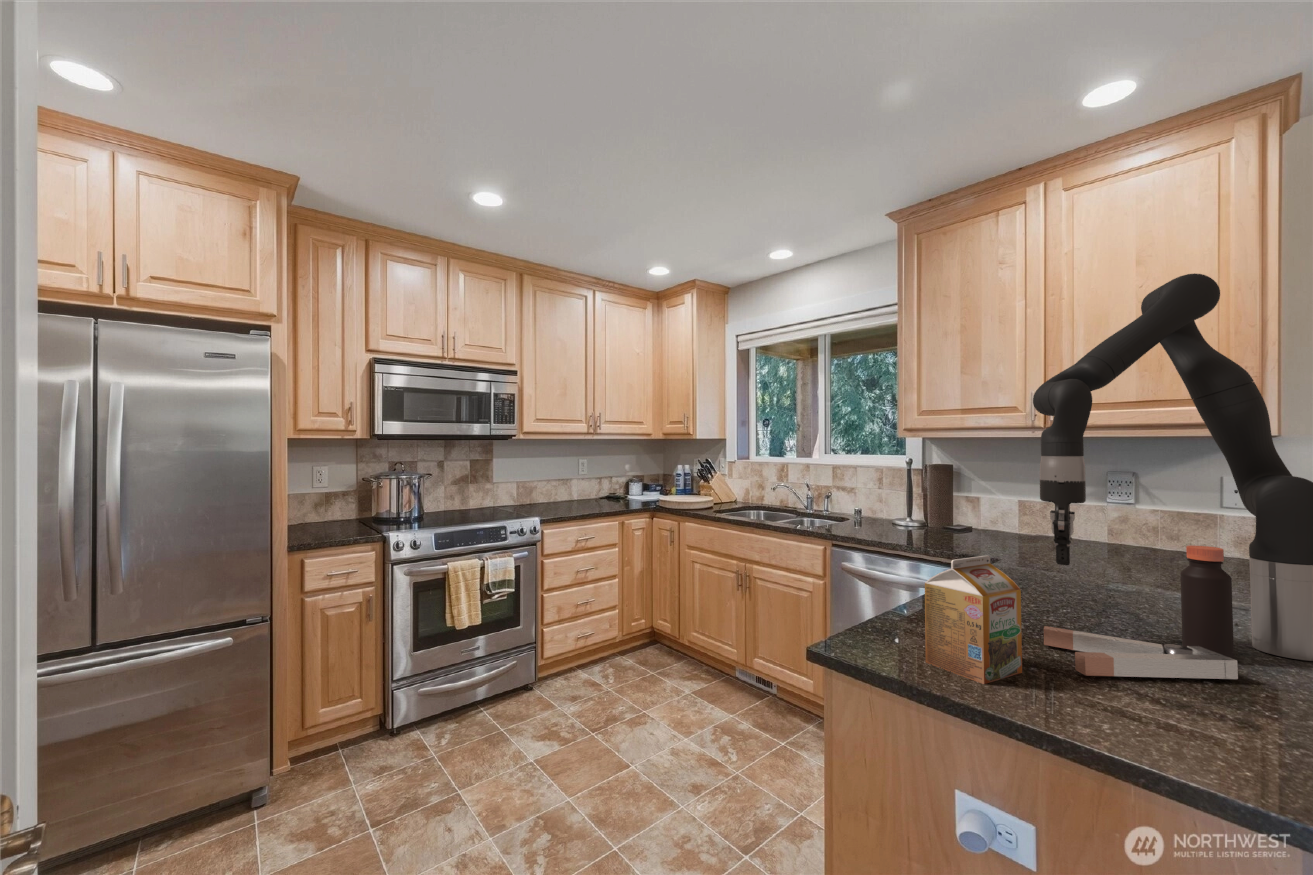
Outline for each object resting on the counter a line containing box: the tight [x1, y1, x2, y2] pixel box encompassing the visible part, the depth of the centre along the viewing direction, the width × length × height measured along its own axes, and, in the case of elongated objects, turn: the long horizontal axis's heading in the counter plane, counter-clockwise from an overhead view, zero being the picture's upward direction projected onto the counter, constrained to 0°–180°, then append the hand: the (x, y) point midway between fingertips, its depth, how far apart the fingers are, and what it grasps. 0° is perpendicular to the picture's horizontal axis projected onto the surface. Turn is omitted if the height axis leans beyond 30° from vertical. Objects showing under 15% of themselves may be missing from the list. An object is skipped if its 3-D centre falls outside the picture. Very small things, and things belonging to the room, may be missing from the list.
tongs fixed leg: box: [1074, 646, 1239, 680], centre depth 94 cm, size 24×7×3 cm, turn 87°
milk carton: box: [924, 555, 1023, 685], centre depth 97 cm, size 11×11×19 cm
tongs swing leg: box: [1043, 625, 1193, 655], centre depth 101 cm, size 21×4×3 cm, turn 52°
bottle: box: [1179, 544, 1235, 659], centre depth 102 cm, size 7×7×20 cm
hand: (1063, 564), depth 112 cm, fingers closed
